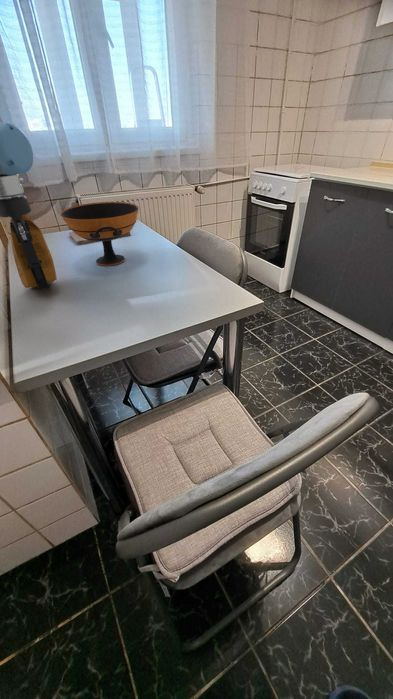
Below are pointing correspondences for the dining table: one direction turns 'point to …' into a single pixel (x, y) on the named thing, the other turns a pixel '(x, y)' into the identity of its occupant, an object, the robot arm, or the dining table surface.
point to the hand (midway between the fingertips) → (43, 287)
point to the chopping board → (81, 240)
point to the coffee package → (40, 251)
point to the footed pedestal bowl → (102, 225)
